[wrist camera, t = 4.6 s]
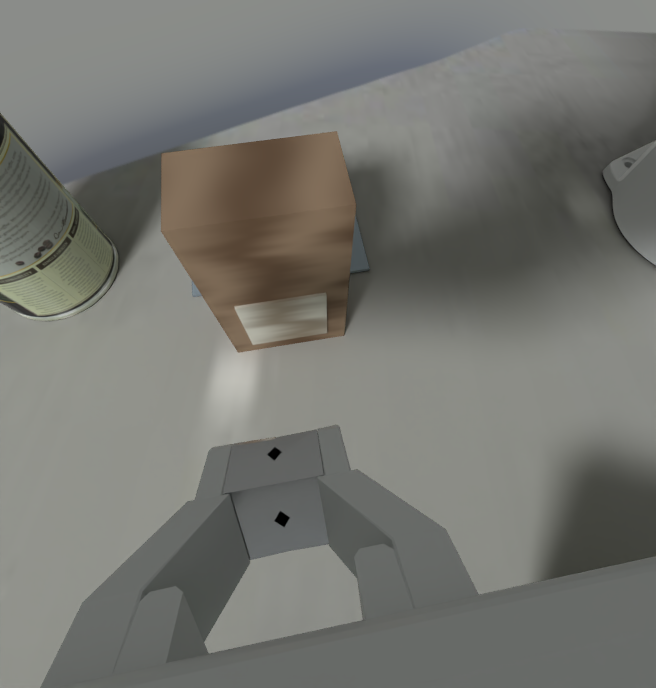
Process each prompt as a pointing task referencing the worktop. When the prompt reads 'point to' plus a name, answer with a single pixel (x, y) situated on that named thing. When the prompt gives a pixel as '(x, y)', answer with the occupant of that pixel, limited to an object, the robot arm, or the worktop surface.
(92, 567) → the worktop surface
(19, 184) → the coffee can
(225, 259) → the cardboard box
